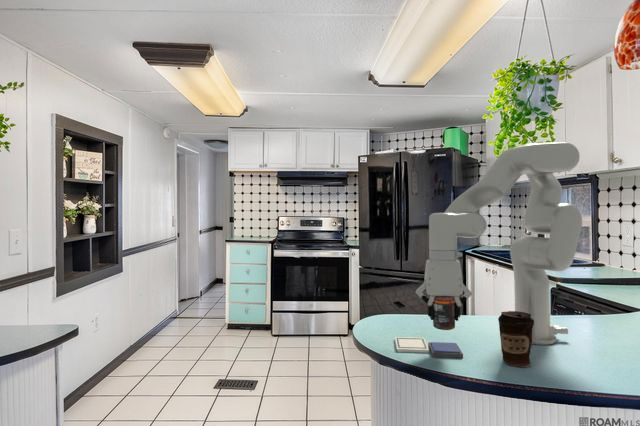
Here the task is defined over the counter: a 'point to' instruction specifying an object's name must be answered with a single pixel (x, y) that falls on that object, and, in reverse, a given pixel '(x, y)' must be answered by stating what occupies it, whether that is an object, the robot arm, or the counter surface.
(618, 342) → the counter surface
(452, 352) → the ink pad
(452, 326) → the supplement bottle
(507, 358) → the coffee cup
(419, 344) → the board
